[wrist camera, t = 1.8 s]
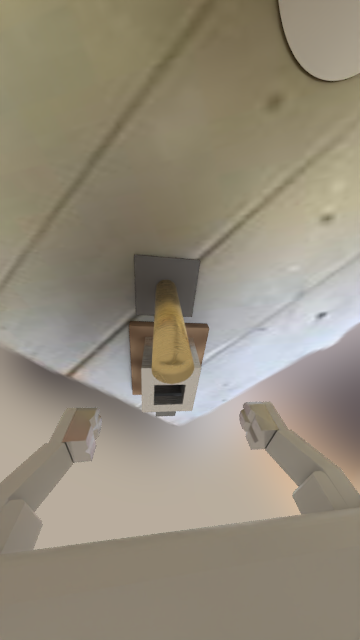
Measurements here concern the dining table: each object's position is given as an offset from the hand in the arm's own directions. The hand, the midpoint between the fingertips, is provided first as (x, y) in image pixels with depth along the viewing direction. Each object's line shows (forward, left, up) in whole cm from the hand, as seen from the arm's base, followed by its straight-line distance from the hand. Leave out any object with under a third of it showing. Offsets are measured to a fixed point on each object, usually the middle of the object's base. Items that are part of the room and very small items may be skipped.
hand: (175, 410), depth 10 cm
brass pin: (0, 0, -19) cm, 19 cm away
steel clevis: (+15, +1, -18) cm, 23 cm away
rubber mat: (0, 0, -19) cm, 19 cm away
